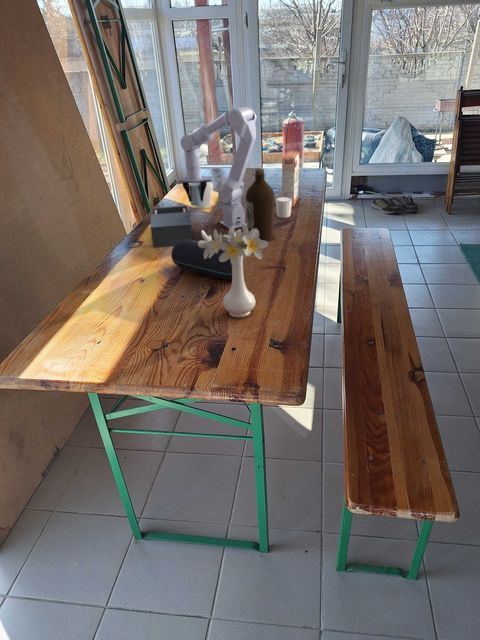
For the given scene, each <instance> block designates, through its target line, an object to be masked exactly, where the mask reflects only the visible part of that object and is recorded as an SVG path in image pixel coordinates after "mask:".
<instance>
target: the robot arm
mask: <svg viewBox="0 0 480 640" xmlns="http://www.w3.org/2000/svg"><path fill="white" fill-rule="evenodd" d="M256 121H257V115H256V113H255V110H254V109H253V107H251V106H250V105H246V104H245V105H243V106H240V107H237V108H231V109H229V110H228V111H225V112H224V113H222V114H221V115H220V116H218V117H217V118H216V119H214V120H213V121H212V122H210V123H209V124H207V123H200V124H198V125H197V127H196V129H192V130H190V131H189V134H185V135H183V136H181V138H180V146H181V148H182V150H183V151H184V162H185V170H186V172H185V173H186V176H184V177H176V178H175V183H176V185H181V184H182V187H183V189H184V191H185V193H186V196H187V198H188V202H189V203H191V198H190V188H189V184H192V183H200V189H201V201H203V195H204V191H205V188H206V186H207V183H206V182H212V183H213V176H212V175H202V169H201V158H200V152H201V147H202V145H203V144H205V143H207V142H209V141H210V140H211V139H213V137H214V133H215V132H217V131H220V129H222V128H224V127H226V126H227V127H231V128H232V130H233V131H234V132H235V133H236V134H237V135H238V137H239V142H238V146H237V147H236V148H237V149H236V152H235V154H234V158H233V162H232V163H231V168H230V171H229V175H228V176H227V179H226V180H225V181H224V182H223V185H222V186H221V188H220V189H219V190H218V195H217V196H218V199H219V201H220V202H221V205H222V217H223V218H222V220H220V221H219V224H221V225H223V226H224V227H226V228H227V229H228V230H229V229H230V228H231V227H232V226H233V227H234V229H238V228H242V224H245V225H246V227H248V223H247V222H246V210H245V208H244V207H243V205H242V203H241V200H242V199H241V198H242V197H243V195H244V185H245V182H244V181H243V179H244V175H245V173H246V170H247V167H248V165H249V162H250V158H251V155H252V151H253V149H254V146H255V143H256V139H257V128H256Z"/></svg>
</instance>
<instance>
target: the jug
mask: <svg viewBox="0 0 480 640" xmlns="http://www.w3.org/2000/svg"><path fill="white" fill-rule="evenodd" d="M189 190H190V198H191V202H190V206H193V207H197V206H199V205H201V204H202V202H201V190H200V184H198V183H189Z"/></svg>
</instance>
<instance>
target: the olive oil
mask: <svg viewBox="0 0 480 640" xmlns="http://www.w3.org/2000/svg"><path fill="white" fill-rule="evenodd" d="M254 171H255V173H254V181H253V182H252V183H251V185H250V186H249V187H248V189H247V190H246V193H245V208H246V220H247V228H248V230H249V232H250V231H251V230H252V229H254V228H256V229H257V230H258V231H259V239H261V240H264V241H267V242H268V241H270V240H272V239H273V238H274V221H275V219H274V218H275V203H276V196H275V192H274V189H273V187H271V185H269V184H268V182H267V181H266V178H265V177H266V176H265V175H266V174H265V169H264V168H256V169H255V170H254ZM248 234H249V233H248Z"/></svg>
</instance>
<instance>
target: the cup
mask: <svg viewBox="0 0 480 640" xmlns="http://www.w3.org/2000/svg"><path fill="white" fill-rule="evenodd" d="M206 183H207V186H206V188H205V191H204V195H203V201H201V202H202V204H201V205H199V206H196V208H197V209H201V210H204V209H205V210H206V209H210V208H211V207H212V202H213V188H214V185H213V182H206ZM198 184H200V183H198ZM200 190H201V189H200Z"/></svg>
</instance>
